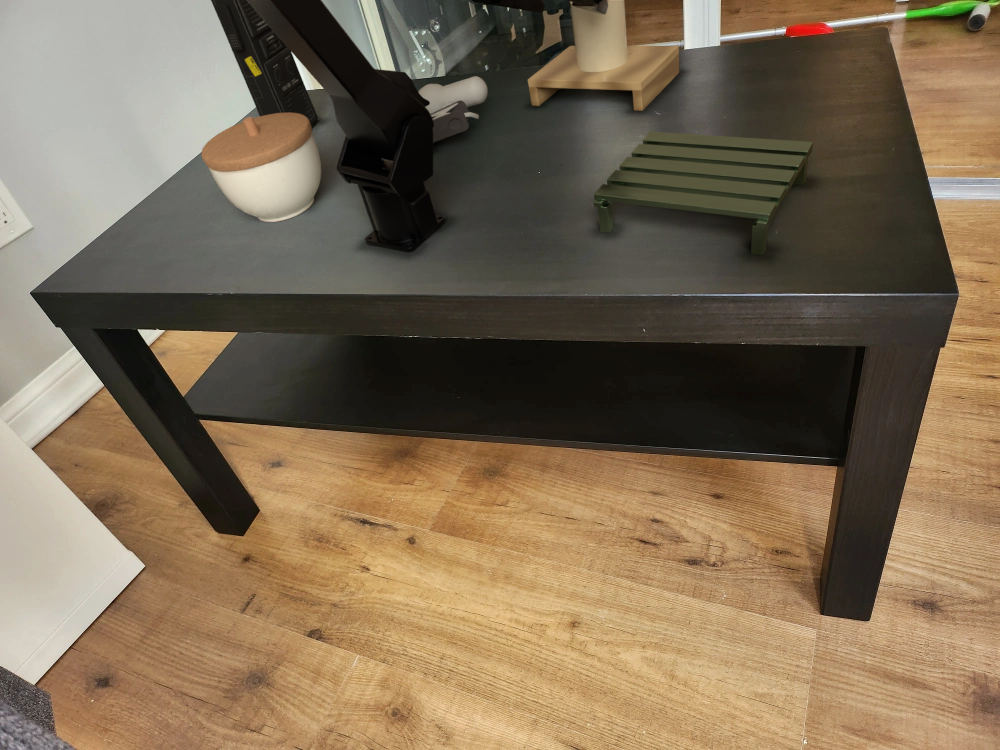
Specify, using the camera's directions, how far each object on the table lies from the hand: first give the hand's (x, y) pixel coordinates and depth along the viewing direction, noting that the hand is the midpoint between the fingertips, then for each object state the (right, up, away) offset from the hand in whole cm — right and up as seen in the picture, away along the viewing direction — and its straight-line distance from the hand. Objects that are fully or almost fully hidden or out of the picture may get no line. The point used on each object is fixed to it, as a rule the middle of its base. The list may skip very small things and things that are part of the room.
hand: (573, 9), depth 84 cm
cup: (+5, -3, +8) cm, 9 cm away
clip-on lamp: (-19, -11, +11) cm, 25 cm away
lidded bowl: (-35, -23, +2) cm, 42 cm away
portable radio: (-40, -8, +21) cm, 45 cm away
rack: (+11, -27, -16) cm, 34 cm away
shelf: (+5, -6, +10) cm, 13 cm away
